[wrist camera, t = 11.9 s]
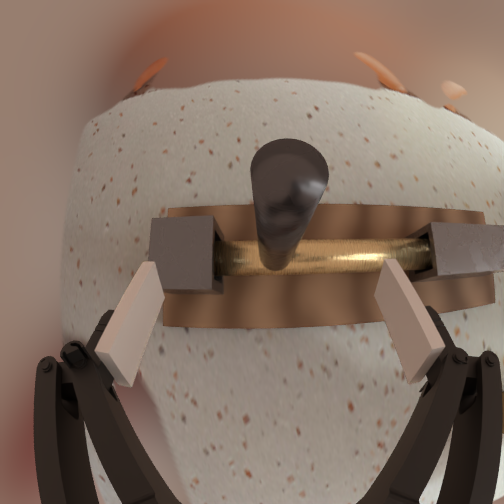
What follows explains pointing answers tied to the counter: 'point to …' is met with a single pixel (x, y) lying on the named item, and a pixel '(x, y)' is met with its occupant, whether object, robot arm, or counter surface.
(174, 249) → the socket
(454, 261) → the outer sleeve
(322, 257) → the sliding bolt
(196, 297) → the base board
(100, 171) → the counter surface
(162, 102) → the counter surface
